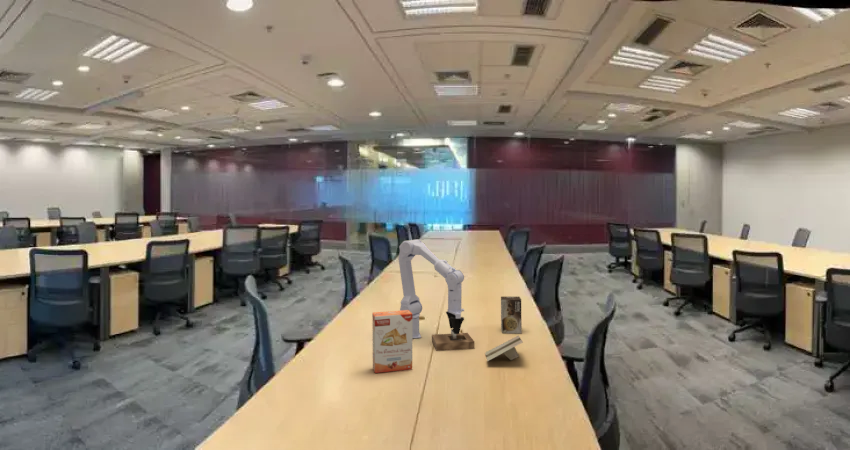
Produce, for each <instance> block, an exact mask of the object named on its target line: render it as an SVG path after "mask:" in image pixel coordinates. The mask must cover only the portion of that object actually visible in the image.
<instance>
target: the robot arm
mask: <svg viewBox="0 0 850 450" xmlns="http://www.w3.org/2000/svg"><path fill="white" fill-rule="evenodd" d="M417 255H418V256H419V255H420V256H421V257H423V258H424V259H425V260H427V261H428V262H429V263H431V264H432V265H433V267H434V270H435V271H436V272H437V273H438V274H439V275H441V276H442V278H444V279H445V283H446V285H447V311H445V313H446V315H447V319H448V323H449V329H453V331H454V334H459V333H461V329H462V324H463V322H464V320H465V317H463V316H462V312H465V309H464V308H462V295H463V294H462V290H463V289H462V288H463V287H462V285H463V284H462V283H463V281H464V280H465V276H464V272H462V271H461V270H460V269H456V268H455V267H453V266H451V264H449V263H448V260H447V259H444V258H443V259H442V258H441V259H439V258H438V257H437V256H436V255H435V254H434V253H433V252H432V250H430V249H429V248H428V247H427V246H426V244H425V243H424V242H422V240H421V239H418V238H417V239H416V238H415V239H411V240H410V239H409V240H403V241H402V242H401V244H399V253H398V264H399V271H400V280H401V286H402V293H403V297H402V299H401V301H400V308H399V311H403V310H409V311H410V312H411V313H412V339H421V338H422V336H421V333H420V316H421V312H422V310H423V304H422V303H421V301H420V297H419V296H418V295H417V294H416V289H415V287H416V286H415V281H414V274H413V265H412V260H413V259H414V257H416V256H417Z"/></svg>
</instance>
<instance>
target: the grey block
mask: <svg viewBox="0 0 850 450" xmlns="http://www.w3.org/2000/svg"><path fill="white" fill-rule="evenodd" d="M450 334H451V340H463V339H456V334H454V331H453V328H450Z"/></svg>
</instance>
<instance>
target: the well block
mask: <svg viewBox="0 0 850 450" xmlns="http://www.w3.org/2000/svg"><path fill="white" fill-rule="evenodd" d="M456 339H463V340H451V333H439V334H431V343H432V344H433V346H434V349H435V350H436V352H438V351H439V352H440V351H456V350H458V351H459V350H475V349H476V347H475V340H474V339H473V338H472V337H471V335H470V334H469V333H468V332H459V334H456Z"/></svg>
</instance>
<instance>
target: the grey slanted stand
mask: <svg viewBox="0 0 850 450" xmlns="http://www.w3.org/2000/svg"><path fill="white" fill-rule="evenodd" d="M523 343H524V342H523V340H522V339H521V337H520V335H517V336H515V337H512V338H511V339H508V340H507V341H505V342H503V343H501V344H499V345H497V346H495V347H493V348H491V349H489V350H488V351H486V352H484V354H485V356H486V361H487V362H489V361H491V360H493V359H495V358H497V357H499V356H501V355H502V354H503V355H504V356H505V357H506V358H508V359H509V360H510V361H513V360H515V359H517V358H519V356H520V355H519V353H518V351H517V349H516V346H519V345H520V344H523Z"/></svg>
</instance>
